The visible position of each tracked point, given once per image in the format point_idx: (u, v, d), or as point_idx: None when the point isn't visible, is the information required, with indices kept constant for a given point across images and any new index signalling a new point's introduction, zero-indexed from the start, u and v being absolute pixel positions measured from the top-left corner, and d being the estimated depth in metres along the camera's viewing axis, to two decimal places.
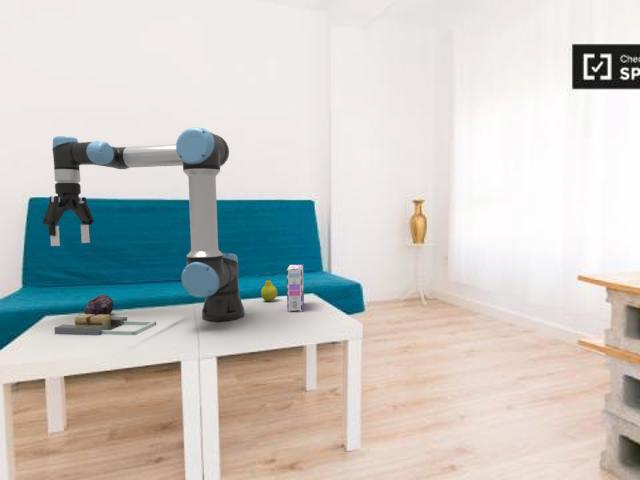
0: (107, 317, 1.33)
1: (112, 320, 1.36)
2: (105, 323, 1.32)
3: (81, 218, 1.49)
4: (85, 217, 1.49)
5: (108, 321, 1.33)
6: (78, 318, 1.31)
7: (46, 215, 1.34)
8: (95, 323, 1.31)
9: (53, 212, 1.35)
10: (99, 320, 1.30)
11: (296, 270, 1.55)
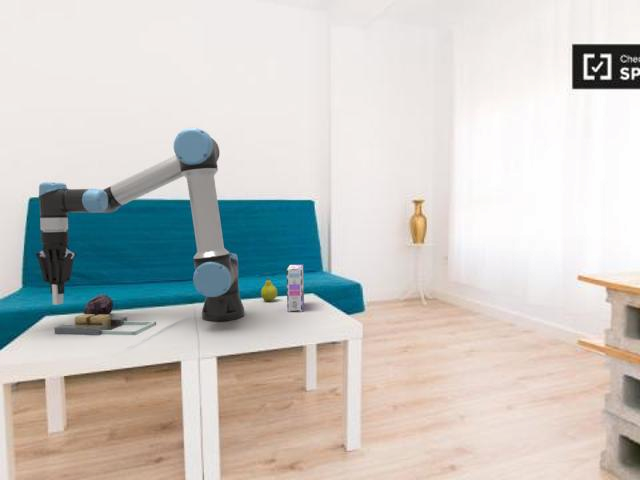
0: (107, 317, 1.33)
1: (112, 320, 1.36)
2: (105, 323, 1.32)
3: None
4: (57, 274, 1.32)
5: (108, 321, 1.33)
6: (78, 318, 1.31)
7: None
8: (95, 323, 1.31)
9: (42, 269, 1.33)
10: (99, 320, 1.30)
11: (296, 270, 1.55)
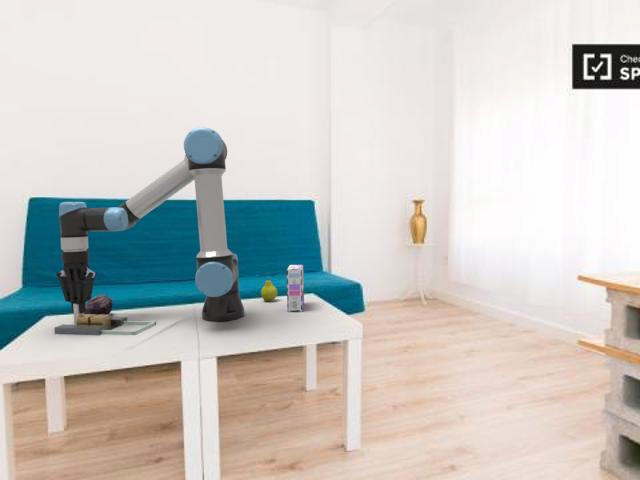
0: (107, 317, 1.33)
1: (112, 320, 1.36)
2: (105, 323, 1.32)
3: None
4: (78, 293, 1.32)
5: (108, 321, 1.33)
6: (80, 318, 1.31)
7: None
8: (95, 323, 1.31)
9: (63, 289, 1.32)
10: (99, 320, 1.30)
11: (296, 270, 1.55)
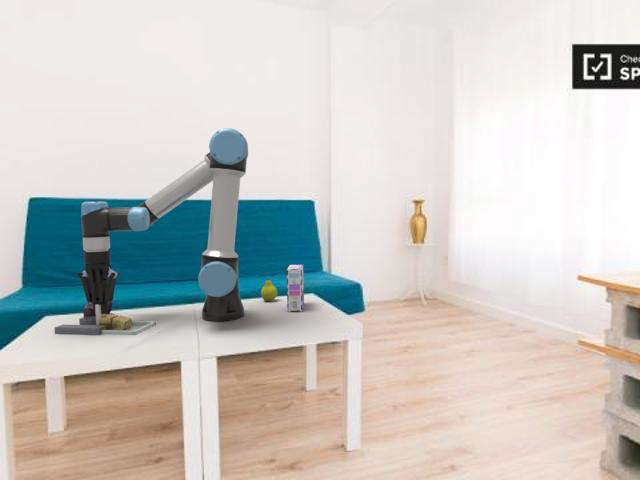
0: (129, 321, 1.32)
1: None
2: (125, 327, 1.31)
3: None
4: (100, 294, 1.31)
5: (129, 325, 1.32)
6: (102, 318, 1.30)
7: None
8: (116, 325, 1.29)
9: (85, 289, 1.31)
10: (121, 324, 1.29)
11: (296, 270, 1.55)
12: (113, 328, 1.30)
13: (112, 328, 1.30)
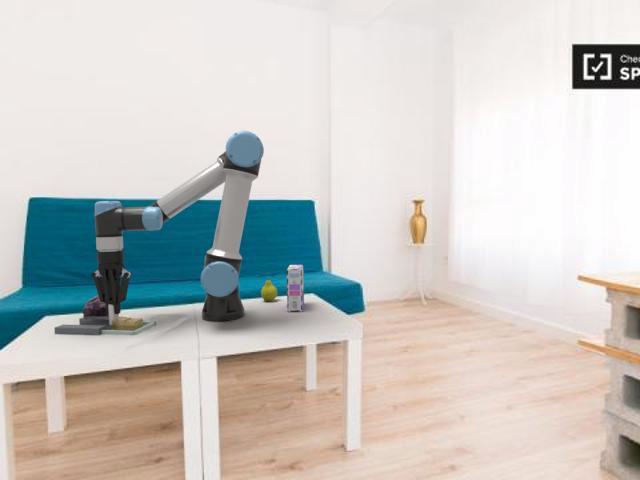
0: (140, 321, 1.31)
1: None
2: (138, 328, 1.30)
3: None
4: (113, 294, 1.30)
5: (141, 325, 1.31)
6: (115, 321, 1.29)
7: None
8: (128, 327, 1.29)
9: (98, 289, 1.30)
10: (132, 324, 1.28)
11: (296, 270, 1.55)
12: None
13: None
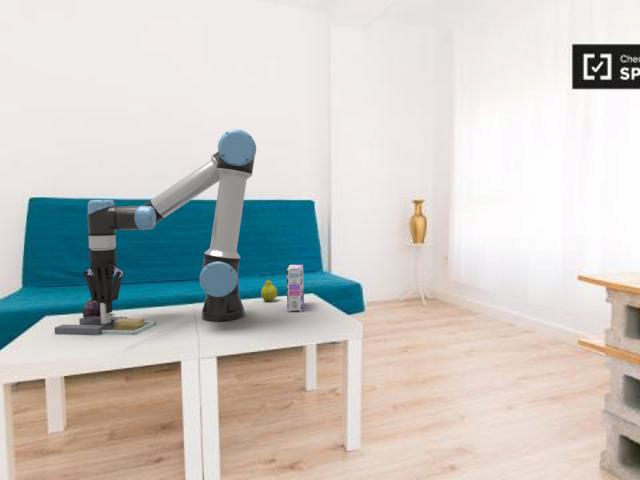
0: (142, 321, 1.31)
1: (112, 320, 1.36)
2: None
3: None
4: (105, 293, 1.30)
5: (143, 325, 1.31)
6: (117, 322, 1.29)
7: None
8: (130, 327, 1.29)
9: (90, 288, 1.31)
10: (134, 324, 1.28)
11: (296, 270, 1.55)
12: None
13: None
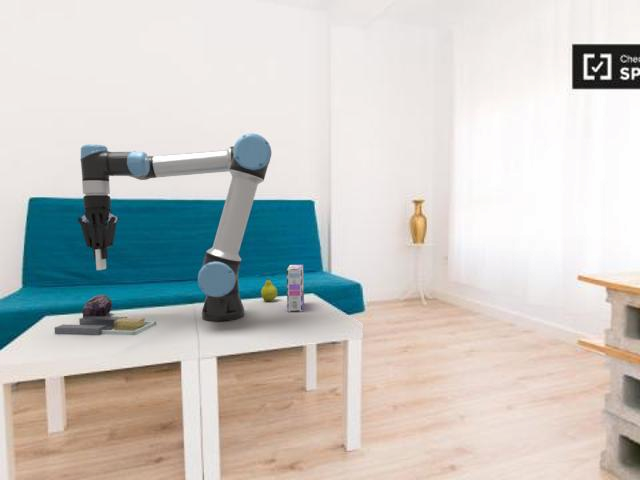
0: (142, 321, 1.31)
1: (112, 320, 1.36)
2: None
3: None
4: (100, 238, 1.30)
5: (143, 325, 1.31)
6: (117, 322, 1.29)
7: None
8: (130, 327, 1.29)
9: (85, 234, 1.31)
10: (134, 324, 1.28)
11: (296, 270, 1.55)
12: None
13: None
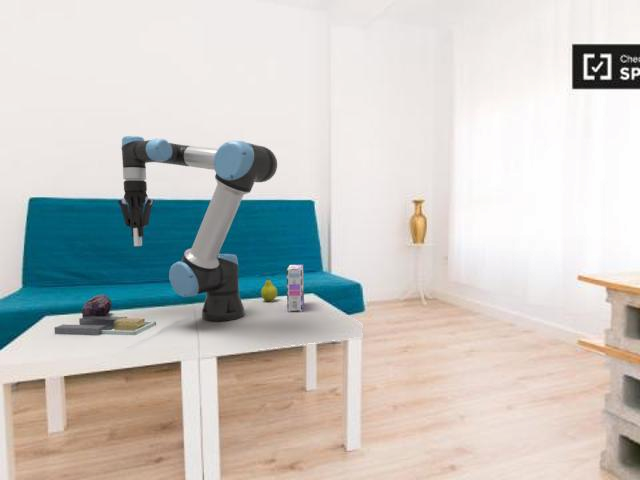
0: (142, 321, 1.31)
1: (112, 320, 1.36)
2: None
3: None
4: (138, 218, 1.48)
5: (143, 325, 1.31)
6: (117, 322, 1.29)
7: None
8: (130, 327, 1.29)
9: (124, 215, 1.49)
10: (134, 324, 1.28)
11: (296, 270, 1.55)
12: None
13: None
